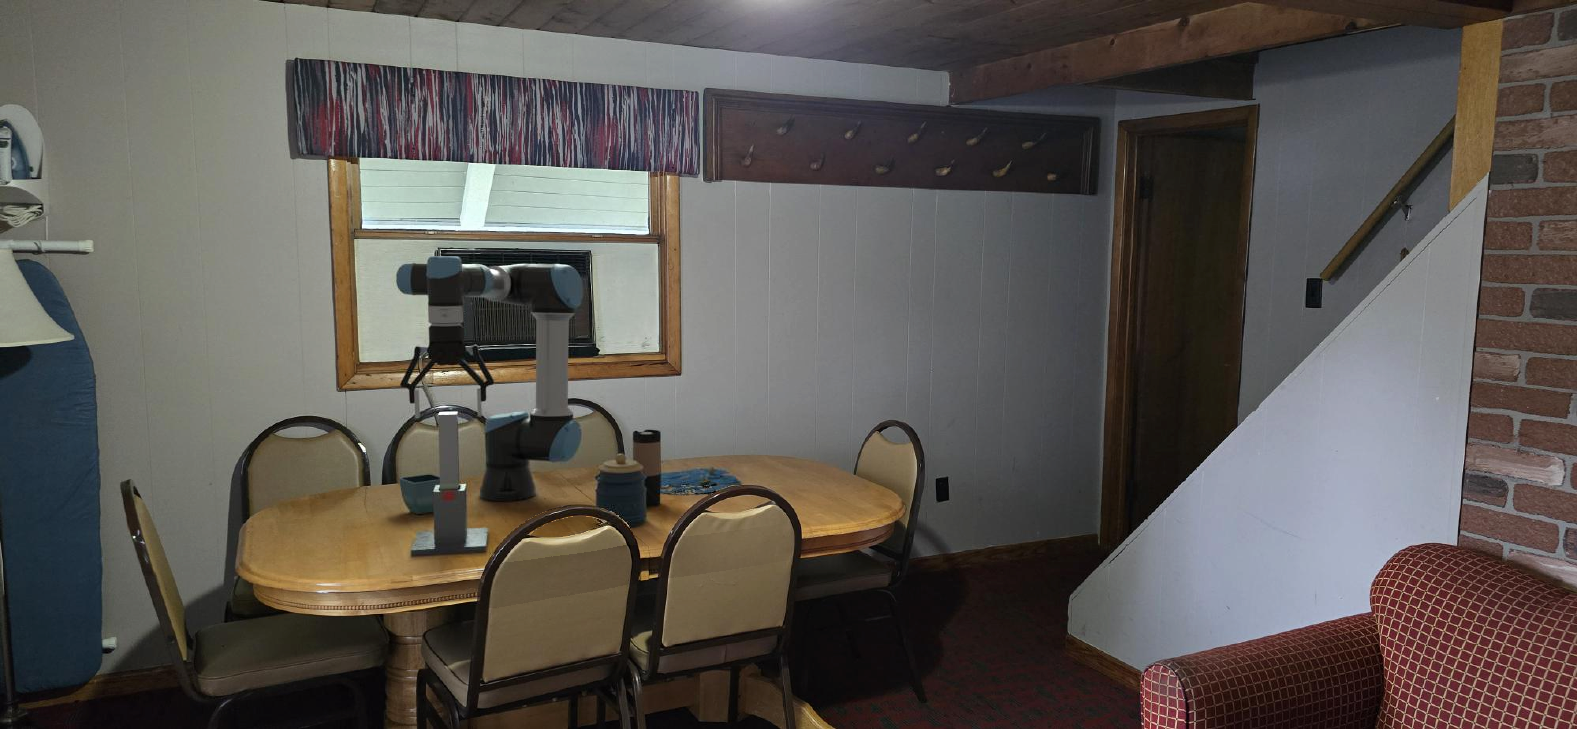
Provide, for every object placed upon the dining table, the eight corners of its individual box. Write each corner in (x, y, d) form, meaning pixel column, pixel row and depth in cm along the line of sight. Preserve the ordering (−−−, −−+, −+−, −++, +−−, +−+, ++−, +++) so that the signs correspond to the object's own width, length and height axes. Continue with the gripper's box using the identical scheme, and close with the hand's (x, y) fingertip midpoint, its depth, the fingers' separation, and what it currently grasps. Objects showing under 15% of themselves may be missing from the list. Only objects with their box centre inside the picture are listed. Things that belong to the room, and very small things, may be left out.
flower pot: (431, 505, 273) (430, 473, 272) (446, 512, 266) (446, 478, 265) (399, 511, 267) (398, 477, 266) (414, 517, 260) (413, 483, 259)
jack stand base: (411, 556, 227) (409, 497, 226) (418, 537, 242) (416, 481, 241) (485, 552, 231) (484, 494, 230) (488, 533, 246) (487, 478, 245)
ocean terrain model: (706, 506, 282) (706, 488, 281) (621, 491, 297) (621, 474, 296) (762, 482, 307) (762, 465, 307) (681, 469, 322) (681, 453, 321)
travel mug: (655, 508, 272) (655, 434, 270) (628, 506, 274) (628, 433, 272) (664, 501, 280) (664, 430, 278) (638, 500, 281) (638, 428, 279)
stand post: (440, 513, 233) (438, 414, 231) (442, 509, 237) (439, 412, 235) (459, 512, 234) (456, 414, 232) (460, 508, 238) (457, 411, 236)
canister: (601, 515, 265) (600, 448, 263) (650, 516, 265) (650, 449, 263) (590, 528, 252) (589, 458, 250) (642, 529, 252) (641, 459, 250)
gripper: (385, 326, 225) (388, 421, 227) (502, 325, 231) (504, 417, 233) (389, 323, 232) (393, 415, 234) (503, 322, 238) (505, 412, 241)
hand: (448, 416), depth 234 cm, fingers open, 13 cm apart
